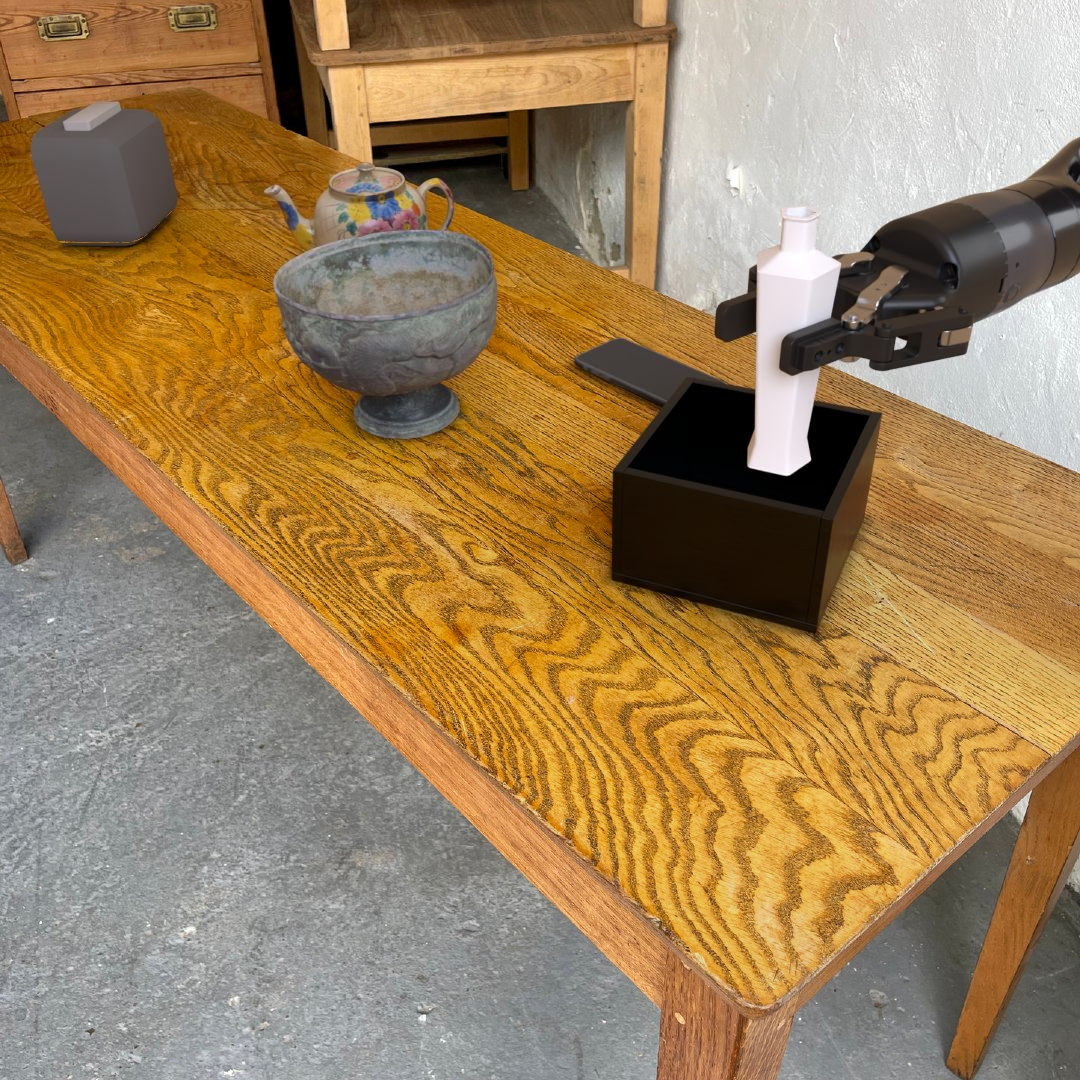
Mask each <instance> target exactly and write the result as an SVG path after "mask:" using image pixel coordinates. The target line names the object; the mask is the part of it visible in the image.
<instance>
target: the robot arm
mask: <svg viewBox="0 0 1080 1080" xmlns="http://www.w3.org/2000/svg"><path fill="white" fill-rule="evenodd" d="M831 257H832V258H833V259H835V260H837V261H838V262H840V263H841V268H840V273H839V278H838V283H837V288H836V293H835V298H834V303H833V308H832V313H831V318H829V319H826V320H823V321H821V322H818V323H815V324H813V325H810V326H807V327H805V328H802V329H799V330H797V331H794V332H791V333H789V334H787V335H786V336H785V337H784V338H783V340H782V343H781V351H780V361H779V369H780V370H781V371H782V372H784V373H786V374H788V375H790V376H794V375H797V374H799V373H802V372H805V371H812V370H815V369H817V368H820V367H821V368H823V367H824V366H825V367H826V365H830V364H832V363H834V362H837V361H839V362H842V363H847V364H849V363H851V364H852V363H856V362H858V361H860V359H864V360H869V361H868V368H870V369H871V370H874V371H877V372H887V371H893V370H897V369H901V368H906V367H911V366H917V365H921V364H922V365H923V364H927V363H932V362H936V361H941V360H946V359H952V358H955V357H960V356H964V355H967V353H968V348H969V344H970V341H971V337H972V334H973V333H972V332H973V327H974V324H976V323H979V322H981V321H983V320H986V319H988V318H991V317H994V316H996V315H998V314H1001V313H1003V312H1004V311H1006V310H1009V309H1010V308H1012V307H1014V306H1016V305H1017V304H1019V303H1020V302H1021V301H1023V300H1024V299H1026V298H1028V297H1032V296H1034V295H1037V294H1039V293H1041V292H1043V291H1045V290H1048V289H1051V288H1053V287H1055V286H1057V285H1061V284H1062V283H1064V282H1067V281H1069V280H1071V279H1072V278H1074V277H1076V276H1077V275H1079V274H1080V136H1078V137H1076V138H1074V139H1072V140H1070V141H1069V142H1068V143H1066V144H1065V145H1064V146H1063V147H1061V149H1059V150H1058V151H1057V152H1056V153H1055V154H1054V155H1053V156H1052V157H1051V158H1050V159H1049V160H1048V161H1047V162H1045V163H1044V164H1043V165H1042V166H1040V167H1039V168H1038V169H1036V170H1035V171H1034V172H1033V173H1032V174H1030V175H1029V176H1028V177H1026V178H1025V179H1024V180H1022V181H1019V182H1016V183H1013V184H1010V185H1006V186H1004V187H1001V188H998V189H995V190H992V191H986V192H985V191H983V192H977V193H972V194H968V195H965V196H961V197H958V198H955V199H952V200H949V201H946V202H943V203H940V204H937V205H934V206H931V207H928V208H925V209H922V210H918V211H916V212H912V213H910V214H907V215H904V216H901V217H897V218H895V219H892V220H890V221H888V222H887V223H885V224H884V225H882V226H881V227H880V228H879V229H877V231H876V232H875V233H874V234H873V235H872V237H871V238H869V240H868V242H867V243H866V244H864V246H863V247H862V249H860V251H856V252H852V253H840V254H835V255H832V256H831ZM746 291H747V292H746V293H744V294H740V295H738V296H735V297H731V298H729V299H727V300H723V301H721V302H720V303H718V305H717V306H716V309H715V317H714V337H715V338H716V339H718V340H719V341H721V342H724V343H731V342H733V341H736V340H739V339H742V338H744V337H747V336H749V335H752V334H755V333H756V310H757V263H756V264H754V265H753V266H750V268H749V269H748V278H747V290H746ZM897 339H900V340H902V341H904V342H905V341H906V343H905V345H904V346H903V347H902V348H898V349H896V348H895V347H896V341H897ZM821 368H820V369H821Z"/></svg>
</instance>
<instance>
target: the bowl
mask: <svg viewBox="0 0 1080 1080" xmlns="http://www.w3.org/2000/svg"><path fill="white" fill-rule="evenodd" d="M272 281H273V282H272V284H273V291H274V294H275V296H276V300H277V302H276V303H277V306H278V308H279V311H280V316H281V321H282V329H283V331H284V333H285V334H284V335H285V338H286V340H287V342H288V344H289V345H290V348H291V350H292V351H293V352H294V354H295V355H296V356H297V358H298V359H299V361H300V362H301V363H302V364H303V365H304V366H306V367H307V368H309V369H310V370H311V371H313V372H314V373H315V374H316V375H318V376H319V377H320V378H322V379H324V380H325V381H327V382H329V383H330V384H332V385H334V386H336V387H338V388H340V389H343V390H346V391H349V392H353V393H356V394H359V395H361V396H360V397H359V398H358V399H357V401H356V403H355V404H354V407H353V419H354V422H355V424H356V425H357V426H358V427H359V428H360V429H362V430H364V431H365V432H367V433H368V434H370V435H373V436H377V437H380V438H385V439H393V440H395V439H399V440H401V439H402V440H409V439H418V438H422V437H423V438H424V437H426V436H430V435H433V434H434V433H437V432H439V431H442V430H444V429H445V428H447V427H448V426H450V425H451V424H452V423H453V422H454V421H455V420H456V419H457V417H458V415H459V414H460V410H461V409H460V401H459V399H458V395H457V394H456V393H455V392H454V391H453V390H452V389H451V387H448V386H447V385H445V384H444V383H442V382H446V381H449V380H451V379H453V378H455V377H458V376H459V375H460V374H462V373H463V372H464V371H466V370H467V369H468V368H469V367H470V366H471V365H473V364H474V363H475V361H476V360H477V359H478V357H479V356H480V354H481V353H482V352H483V351H484V350H485V349H486V348H487V347H488V345H489V341H490V340H491V338H492V336H493V334H494V332H495V329H496V326H497V313H498V312H497V311H498V282H497V277H496V273H495V264H494V259H493V257H492V254H491V252H490V250H489V249H488V248H487V247H486V246H484V245H483V244H482V243H481V242H479V241H478V240H477V239H475V238H473V237H471V236H469V235H467V234H464V233H461V232H457V231H451V230H446V231H441V230H439V229H429V230H397V231H384V232H377V233H372V234H368V235H364V236H362V237H353V238H348V239H343V240H339V241H335V242H332V243H329V244H326V245H323V246H319V247H316V248H314V249H311V250H309V251H305V252H303V253H301V254H298V255H297V256H295V257H293V258H292V259H290V260H288V261H287V262H286V263H284V264H283V265H282V266H281V267H279V269H278V270H277V272H276V273H275V275H274V277H273V280H272Z"/></svg>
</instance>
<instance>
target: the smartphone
mask: <svg viewBox="0 0 1080 1080" xmlns="http://www.w3.org/2000/svg"><path fill="white" fill-rule="evenodd" d="M573 361H574V365H575V367H578V368H579V369H581V370H584V371H586V372H588V373H589V374H593V375H595V376H596V377H599V378H601V379H603V380H605V381H607V382H609V383H611V384H614V385H616V386H618V387H621V388H623V389H625V390H627V391H629V392H631V393H633V394H635V395H637V396H639V397H642V398H644V399H646V400H648V401H650V402H653V403H654V404H657V405H659V406H661V407H663V406H664V405H665V404H666V402H667V401H668V400H669V398H670V397H671V396H672V395H673V393H674V392H675V391H676V390H677V388H678V387H679V386H680V385H681V383H682V382H683V381H684V379H685V378H686V377H692V378H698V379H703V380H708V381H714V382H719V383H724V384H727V383H726V382H725V381H724V380H722V379H720V378H718V377H715V376H712V375H711V374H708V373H705V372H704V371H701V370H699V369H697V368H694V367H691V366H689V365H687V364H684V363H683V362H680V361H678V360H675V359H673V358H671V357H668V356H666V355H664V354H661V353H659V352H657V351H655V350H652V349H651V348H647V347H645V346H643V345H641V344H639V343H636V342H634V341H632V340H629V339H627V338H622V337H617V338H616V337H615V338H613V339H610V340H608V341H605V342H604V343H601V344H599V345H597V346H595V347H593V348H590V349H588V350H585V351H583V352H581V353H579V354H577V355H576V356H575V358H574V360H573Z"/></svg>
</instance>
